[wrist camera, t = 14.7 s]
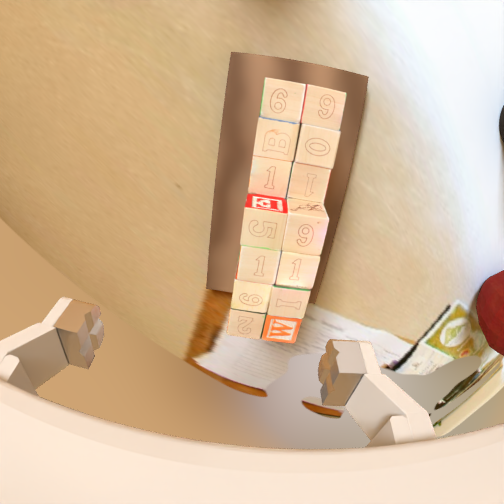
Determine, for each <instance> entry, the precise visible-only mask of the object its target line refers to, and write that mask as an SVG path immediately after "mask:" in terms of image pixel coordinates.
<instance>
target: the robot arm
mask: <svg viewBox="0 0 504 504" xmlns="http://www.w3.org/2000/svg"><path fill="white" fill-rule="evenodd" d="M100 315H101V312H100V308H99V306H97V305H94V304H90V303H86V302H82V301H79V300H75V299H74V300H73V299H70V298H66V297H62V298H60V299H59V301H58V302H57V303H56V305H55V306H54V307H53V308H52V310H51V311H50V312H49V314H48V315H47V316H46V318H45V319H44V321H43V322H42V323H36V324H34V325H32V326H30V327H28V328H26V329H24V330H22V331H20V332H17V333H15V334H13V335H11V336H9V337H7V338H5V339H3V340H1V341H0V504H504V423H502V424H498V425H495V426H491V427H487V428H484V429H480V430H476V431H472V432H467V433H463V434H458V435H454V436H449V437H443V438H438V439H437V438H436V435H435V432H434V429H433V426H432V423H431V421H430V418H429V415H428V412H427V411H426V410H425V409H423V408H422V407H421V406H420V405H419V404H418V403H417V402H415V401H414V400H413V399H412V398H411V397H410V396H409V395H408V394H407V393H405V392H404V391H403V390H402V389H401V388H400V387H399V386H398V385H396V384H395V383H394V382H393V381H392V380H391V379H390V378H389V377H387V376H386V375H384V374H381V371H380V368H379V365H378V362H377V359H376V356H375V353H374V350H373V347H372V344H371V342H370V341H352V340H335V339H330V340H329V341H328V342H327V345H326V352H327V353H325V354H324V355H322V357H321V360H320V362H319V368H318V376H319V381H320V382H321V383H322V384H323V386H322V388H321V398H322V405H333V406H345V408H346V409H347V411H348V412H349V413H350V414H351V416H352V417H353V418H354V420H355V421H356V422H357V424H358V425H359V426H360V427H361V429H362V430H363V431H364V432H365V434H366V435H367V436H368V438H369V439H370V440H371V442H370V443H369V444H368V445H367V446H366V447H365V448H348V449H281V448H263V447H250V446H240V445H229V444H221V443H213V442H207V441H199V440H193V439H187V438H182V437H177V436H171V435H166V434H161V433H157V432H152V431H147V430H143V429H139V428H135V427H130V426H127V425H123V424H119V423H116V422H112V421H108V420H105V419H102V418H98V417H95V416H92V415H89V414H86V413H83V412H80V411H76V410H74V409H71V408H68V407H65V406H62V405H60V404H57V403H54V402H52V401H49V400H47V399H44V398H42V397H39V396H38V394H37V392H36V391H35V389H37V388H38V387H39V386H41V385H42V384H43V383H45V382H46V381H48V380H49V379H50V378H51V377H53V376H54V375H56V374H57V373H59V372H60V371H61V370H63V369H64V368H65V367H67V366H68V365H69V364H71V365H75V366H78V367H82V368H86V369H89V367H90V365H91V363H92V361H93V359H94V357H95V355H94V350H96V349H98V348H99V347H100V345H101V343H102V340H103V336H104V327H103V323H102V322H101V321H100V319H99V316H100Z"/></svg>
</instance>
